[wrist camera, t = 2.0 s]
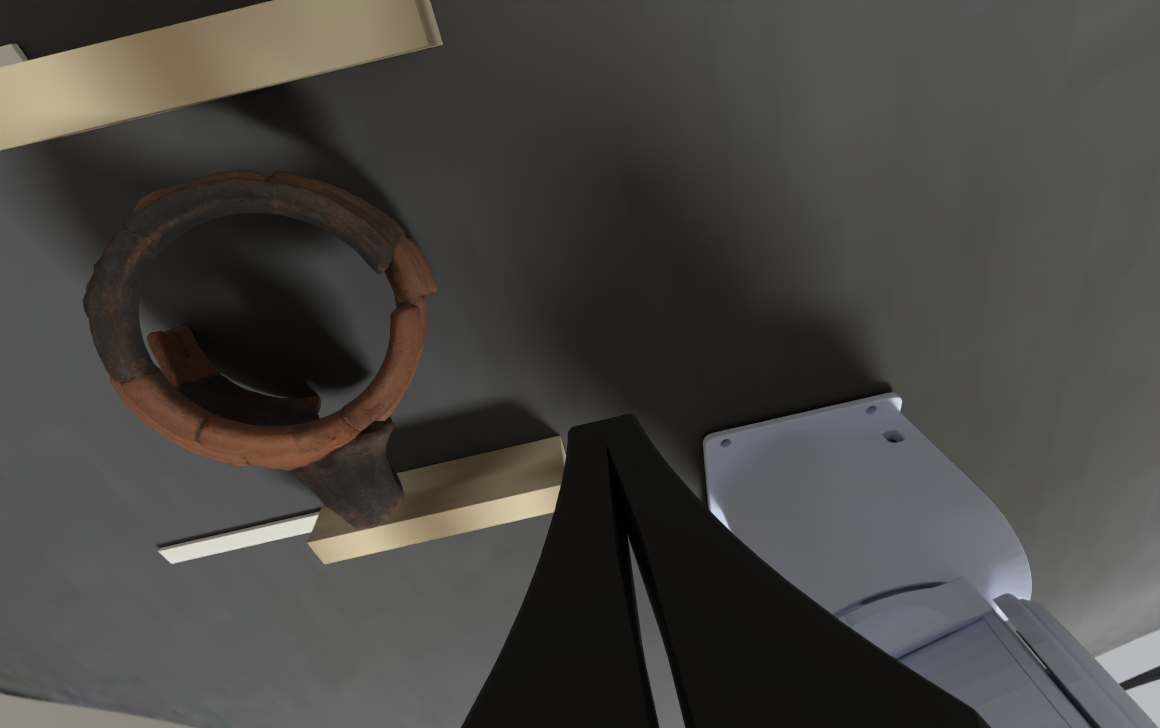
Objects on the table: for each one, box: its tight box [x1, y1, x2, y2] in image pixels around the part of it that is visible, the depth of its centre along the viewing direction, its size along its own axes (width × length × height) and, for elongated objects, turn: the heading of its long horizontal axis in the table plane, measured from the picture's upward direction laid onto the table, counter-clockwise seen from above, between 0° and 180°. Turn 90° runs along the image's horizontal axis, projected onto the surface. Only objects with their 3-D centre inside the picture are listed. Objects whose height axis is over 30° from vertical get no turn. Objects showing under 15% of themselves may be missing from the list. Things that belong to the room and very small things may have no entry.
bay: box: [0, 44, 320, 564], centre depth 19 cm, size 9×20×1 cm, turn 11°
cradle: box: [0, 0, 566, 564], centre depth 18 cm, size 11×18×3 cm, turn 11°
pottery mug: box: [83, 170, 437, 529], centre depth 17 cm, size 12×10×8 cm
